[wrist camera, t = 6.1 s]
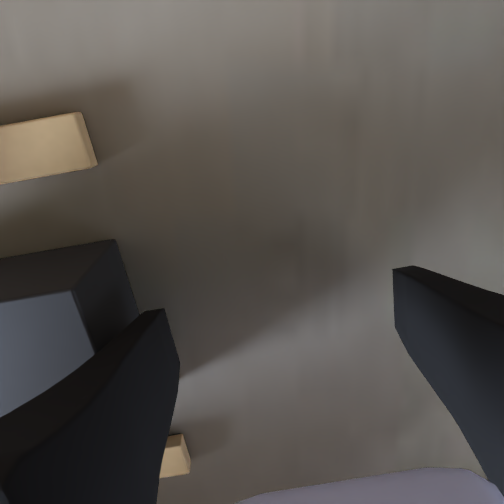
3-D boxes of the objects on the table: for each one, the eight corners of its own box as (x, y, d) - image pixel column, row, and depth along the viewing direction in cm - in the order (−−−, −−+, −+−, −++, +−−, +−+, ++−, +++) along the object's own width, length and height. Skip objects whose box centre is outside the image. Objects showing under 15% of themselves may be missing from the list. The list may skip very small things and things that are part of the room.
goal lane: (82, 111, 11) (73, 111, 10) (191, 460, 16) (189, 473, 15) (-126, 149, 11) (-145, 152, 10) (47, 484, 16) (40, 498, 15)
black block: (116, 237, 12) (73, 288, 9) (163, 388, 14) (142, 473, 11) (-100, 275, 12) (-218, 337, 9) (-20, 418, 15) (-93, 510, 11)
